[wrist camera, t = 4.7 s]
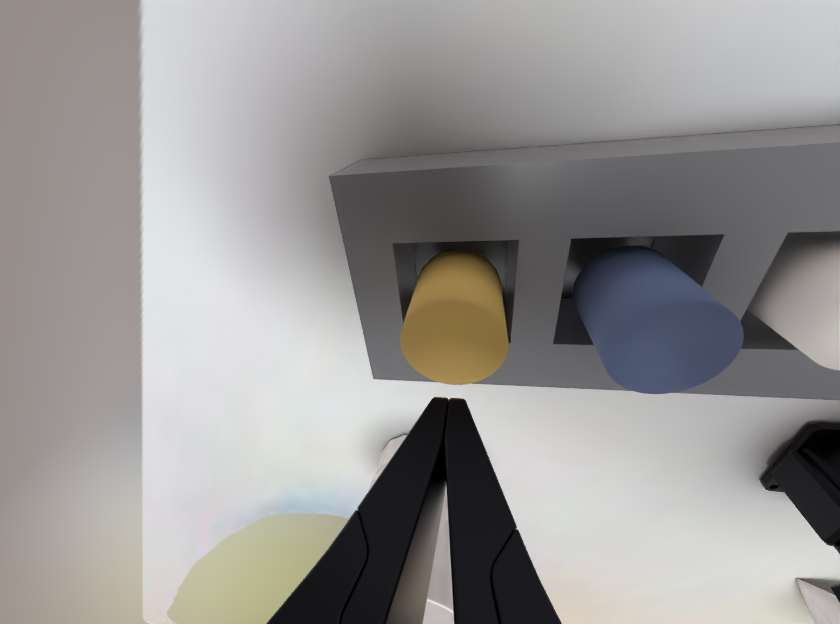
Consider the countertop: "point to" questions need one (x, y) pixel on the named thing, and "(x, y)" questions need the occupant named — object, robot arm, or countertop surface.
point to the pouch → (820, 603)
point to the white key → (804, 295)
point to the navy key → (654, 322)
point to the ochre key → (456, 320)
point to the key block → (596, 218)
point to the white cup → (440, 588)
